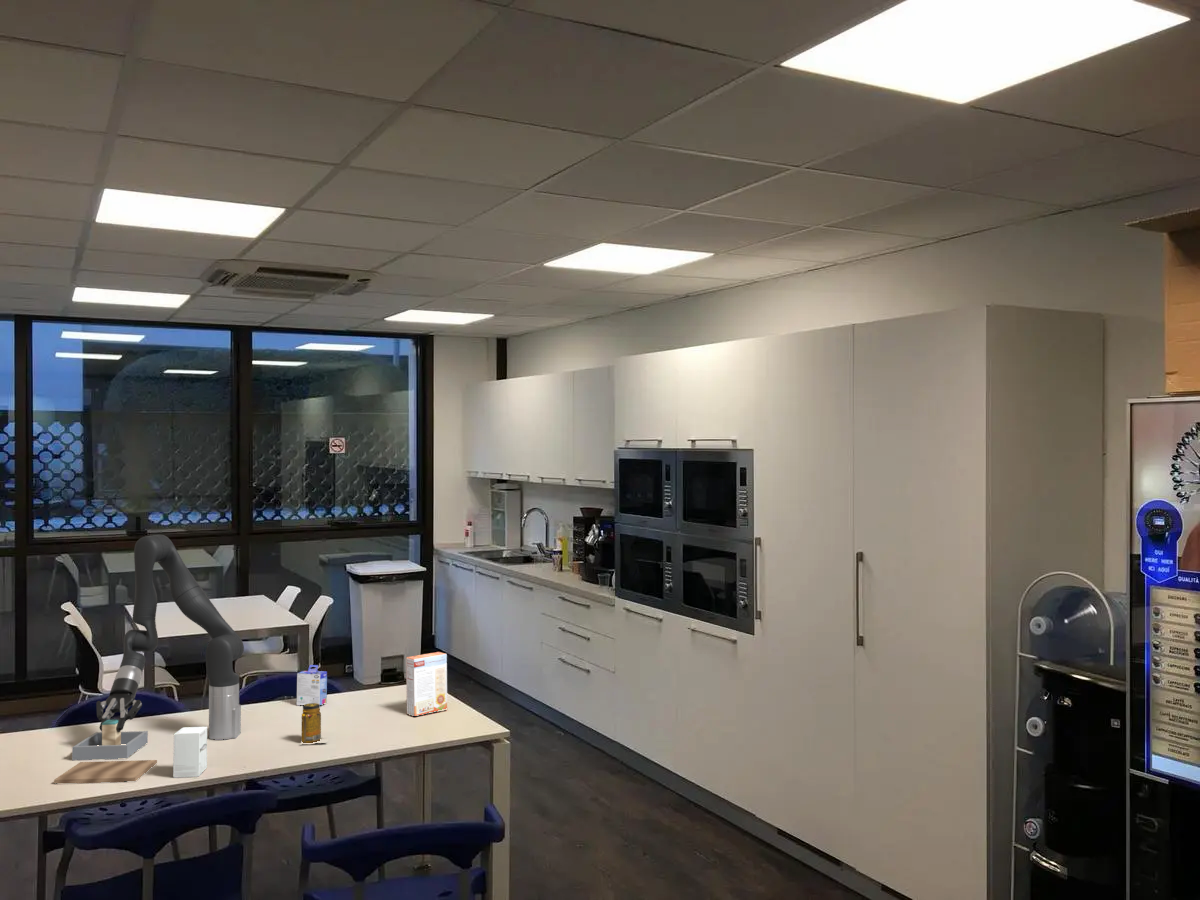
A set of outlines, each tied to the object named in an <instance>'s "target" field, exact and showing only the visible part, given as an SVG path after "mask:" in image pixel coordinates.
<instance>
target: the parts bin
mask: <svg viewBox="0 0 1200 900" xmlns="http://www.w3.org/2000/svg"><path fill="white" fill-rule="evenodd" d="M148 732H149V731H148V730H139V731H137V730H134V731H121V744H126V745H102V732H101V731H99V732H98V731H96V732H94V733H93V734H91V735H89V736H88V737H86V738H84V739H83V740H81V741H80V742H78V743H77V744H75V745H74V746H72V748H71V750H72V752H71V754H72V755H71V757H72V758H71V761H92V759H105V760H119V759H118V758H128V757H129V756H130V755H132V754H133V753H134V752H136V751H137V750H138V749H140V748H141V747H142V746H144V745H145V744H146V743H148V741H149V740H148V736H149V735H148V734H149V733H148ZM97 745H99V746H97ZM146 745H147V744H146ZM146 745H145V746H146ZM145 746H144V747H145ZM142 748H143V747H142ZM142 748H141V749H142ZM141 749H140V750H141ZM138 751H139V750H138ZM138 751H137V752H138ZM137 752H136V753H137ZM134 754H135V753H134ZM134 754H133V755H134ZM133 755H132V756H133ZM130 757H131V756H130ZM130 757H129V758H130ZM129 758H128V759H129Z"/></svg>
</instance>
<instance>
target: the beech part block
mask: <svg viewBox="0 0 1200 900" xmlns="http://www.w3.org/2000/svg"><path fill="white" fill-rule="evenodd" d="M118 720H119V719H109V720H107V721H105V722H103V723H102V745H121V732H122V730H121V731H120V732H117V730H116V727H117V724H118Z"/></svg>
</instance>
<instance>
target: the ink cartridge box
mask: <svg viewBox="0 0 1200 900" xmlns="http://www.w3.org/2000/svg"><path fill="white" fill-rule="evenodd" d="M318 669H319V665H318V664H309V666H308V670H301V671H300V672H297V674H296V706H300V705H305V704H309V703H317V704H319V705H322V704H324V703H327V702H328V699H327V696H328V695H327V693H328V692H327V691H328V688H327V686H328V671H323V670H321V671H320V670H318ZM327 704H328V703H327ZM322 706H323V705H322Z"/></svg>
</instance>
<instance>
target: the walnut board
mask: <svg viewBox="0 0 1200 900" xmlns="http://www.w3.org/2000/svg"><path fill="white" fill-rule="evenodd" d="M156 763H157V764H158V760H157V759H145V760H144V759H143V760H137V759H136V760H112V761H110V760H109V761H106V760H104V761H80V762H78V763H77V764H75V765H74V766H73V767H70V768H69V769H68V770H66V771H65V772H64V773H62V774H60V775H58V776H57V777H56V778H55V779H54V780H53V784H54V783H77V784H100V783H101V782H110V783H125V782H124V781H136V780H137V779H138V778H139V779H141V778H142V777H143V776H144V775H145V774H147V773H148V772H149V771H150V770H151V769H150V768H151V767H153V766H154V765H155V764H156ZM157 764H156V765H157ZM156 765H155V766H156ZM155 766H154V767H155ZM154 767H153V768H154ZM149 769H150V770H149ZM148 770H149V771H148ZM147 771H148V772H147ZM146 772H147V773H146ZM144 773H145V774H144ZM143 774H144V775H143ZM142 775H143V776H142ZM141 776H142V777H141ZM140 777H141V778H140ZM139 779H138V780H139ZM138 780H137V781H138ZM137 781H136V782H137ZM101 784H102V783H101Z"/></svg>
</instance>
